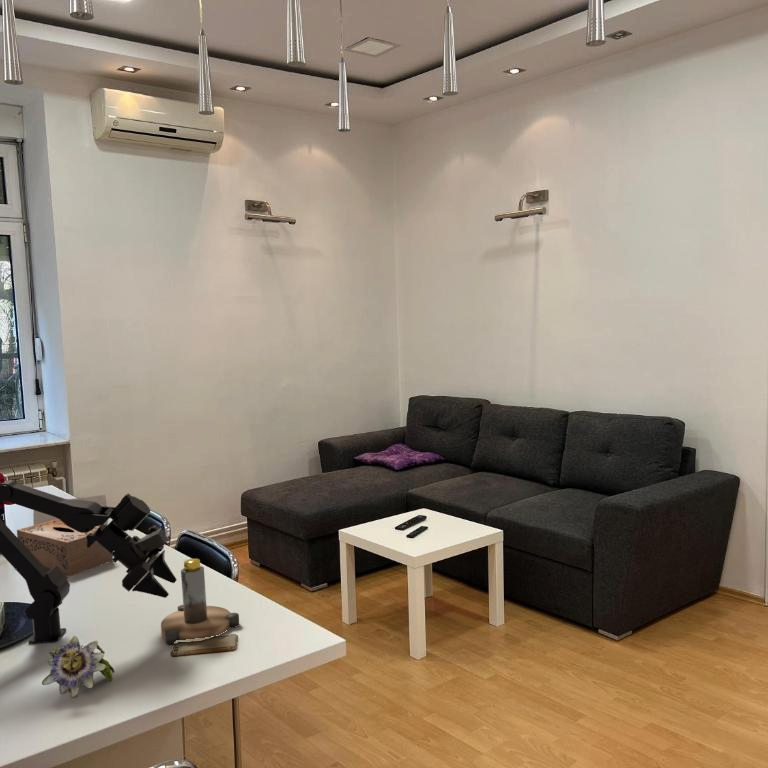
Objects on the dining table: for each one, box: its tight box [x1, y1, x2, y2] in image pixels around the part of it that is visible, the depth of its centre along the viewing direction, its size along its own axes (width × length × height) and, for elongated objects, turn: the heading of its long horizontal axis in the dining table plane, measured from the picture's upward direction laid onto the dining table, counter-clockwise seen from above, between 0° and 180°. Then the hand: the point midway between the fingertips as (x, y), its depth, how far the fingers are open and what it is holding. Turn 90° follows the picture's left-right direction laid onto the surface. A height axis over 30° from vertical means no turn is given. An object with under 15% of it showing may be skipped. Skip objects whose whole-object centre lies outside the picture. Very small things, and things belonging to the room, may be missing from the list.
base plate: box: [160, 604, 240, 646], centre depth 181 cm, size 17×18×2 cm
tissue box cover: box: [16, 519, 114, 577], centre depth 233 cm, size 26×14×10 cm, turn 55°
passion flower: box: [41, 635, 115, 698], centre depth 155 cm, size 11×11×12 cm
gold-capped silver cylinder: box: [180, 558, 208, 624], centre depth 180 cm, size 5×5×14 cm
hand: (171, 588), depth 180 cm, fingers open, 9 cm apart
